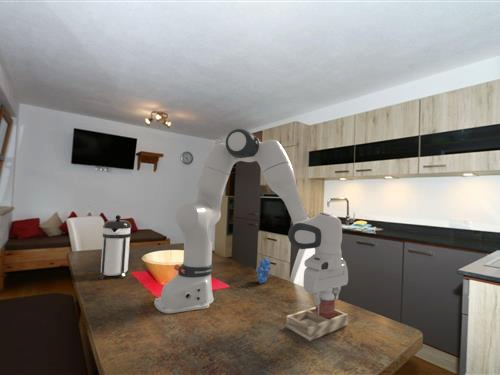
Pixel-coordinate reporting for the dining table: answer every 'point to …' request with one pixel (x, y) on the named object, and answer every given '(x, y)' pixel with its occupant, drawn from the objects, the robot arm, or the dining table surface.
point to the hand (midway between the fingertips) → (326, 301)
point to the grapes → (263, 270)
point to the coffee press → (115, 248)
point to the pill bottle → (326, 304)
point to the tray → (315, 323)
